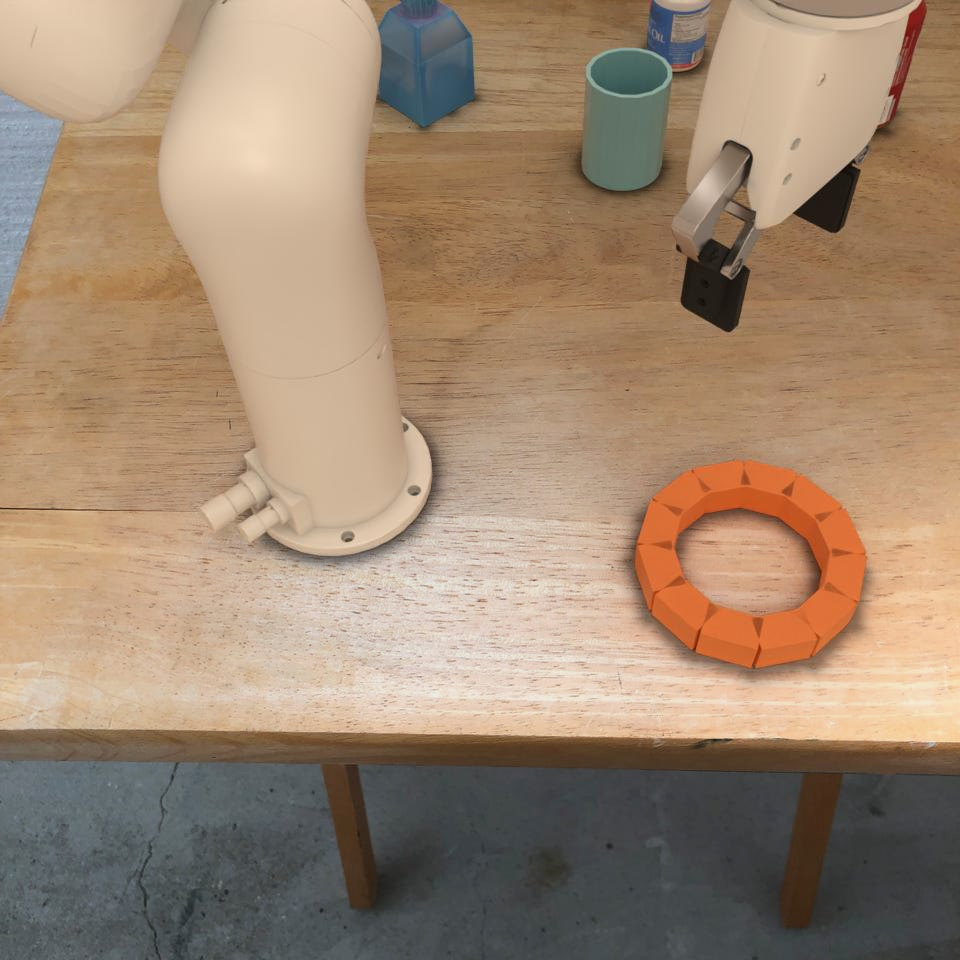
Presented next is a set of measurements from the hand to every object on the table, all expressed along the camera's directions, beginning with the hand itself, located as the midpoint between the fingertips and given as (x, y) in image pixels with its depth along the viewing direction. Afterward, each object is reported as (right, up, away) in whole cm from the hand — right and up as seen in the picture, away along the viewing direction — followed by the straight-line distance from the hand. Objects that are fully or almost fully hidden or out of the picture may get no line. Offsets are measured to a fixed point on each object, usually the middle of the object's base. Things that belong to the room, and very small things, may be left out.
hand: (763, 266), depth 58 cm
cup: (-3, +16, +37) cm, 40 cm away
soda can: (+18, +21, +40) cm, 49 cm away
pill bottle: (+3, +29, +46) cm, 54 cm away
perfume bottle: (-20, +24, +43) cm, 53 cm away
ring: (+2, -17, +12) cm, 21 cm away
